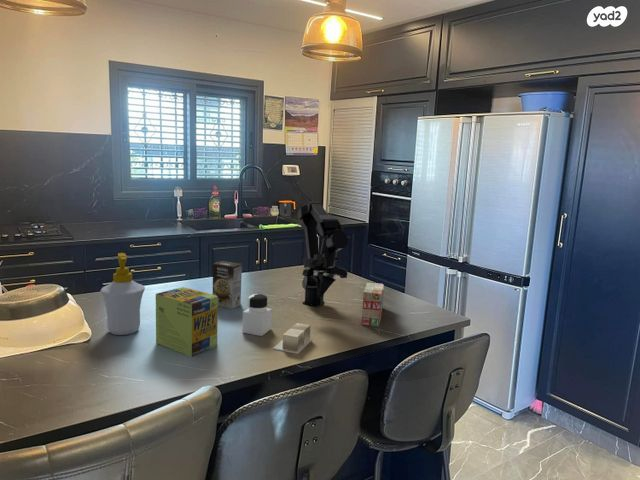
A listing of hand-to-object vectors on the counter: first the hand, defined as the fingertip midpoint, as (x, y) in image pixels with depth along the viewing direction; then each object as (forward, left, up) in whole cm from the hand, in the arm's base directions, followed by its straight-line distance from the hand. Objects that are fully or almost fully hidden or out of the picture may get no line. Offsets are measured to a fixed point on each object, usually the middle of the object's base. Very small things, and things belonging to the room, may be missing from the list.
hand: (319, 297), depth 160 cm
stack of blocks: (+12, +20, -10) cm, 25 cm away
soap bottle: (-46, -42, -10) cm, 63 cm away
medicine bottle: (-13, -17, -10) cm, 24 cm away
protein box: (-23, -38, -10) cm, 46 cm away
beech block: (+2, -13, -7) cm, 15 cm away
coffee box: (-38, -3, -10) cm, 40 cm away
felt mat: (+2, -20, -10) cm, 22 cm away
